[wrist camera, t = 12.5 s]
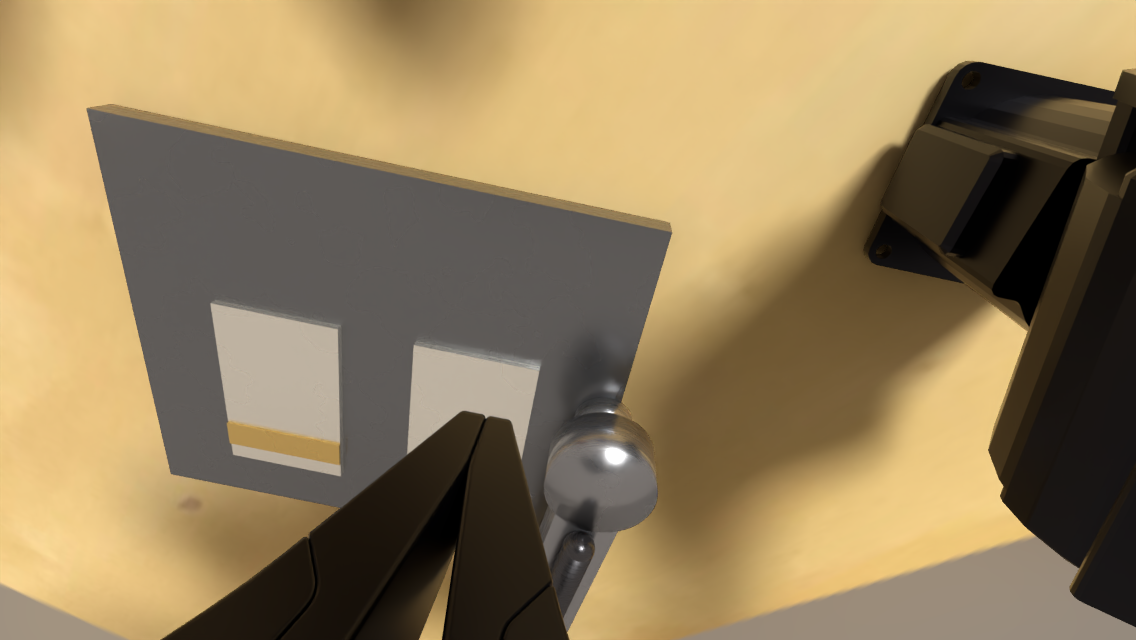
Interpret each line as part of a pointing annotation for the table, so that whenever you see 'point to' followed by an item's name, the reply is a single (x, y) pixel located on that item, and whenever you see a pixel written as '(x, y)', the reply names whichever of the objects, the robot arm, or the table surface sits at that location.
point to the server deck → (359, 304)
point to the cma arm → (593, 498)
